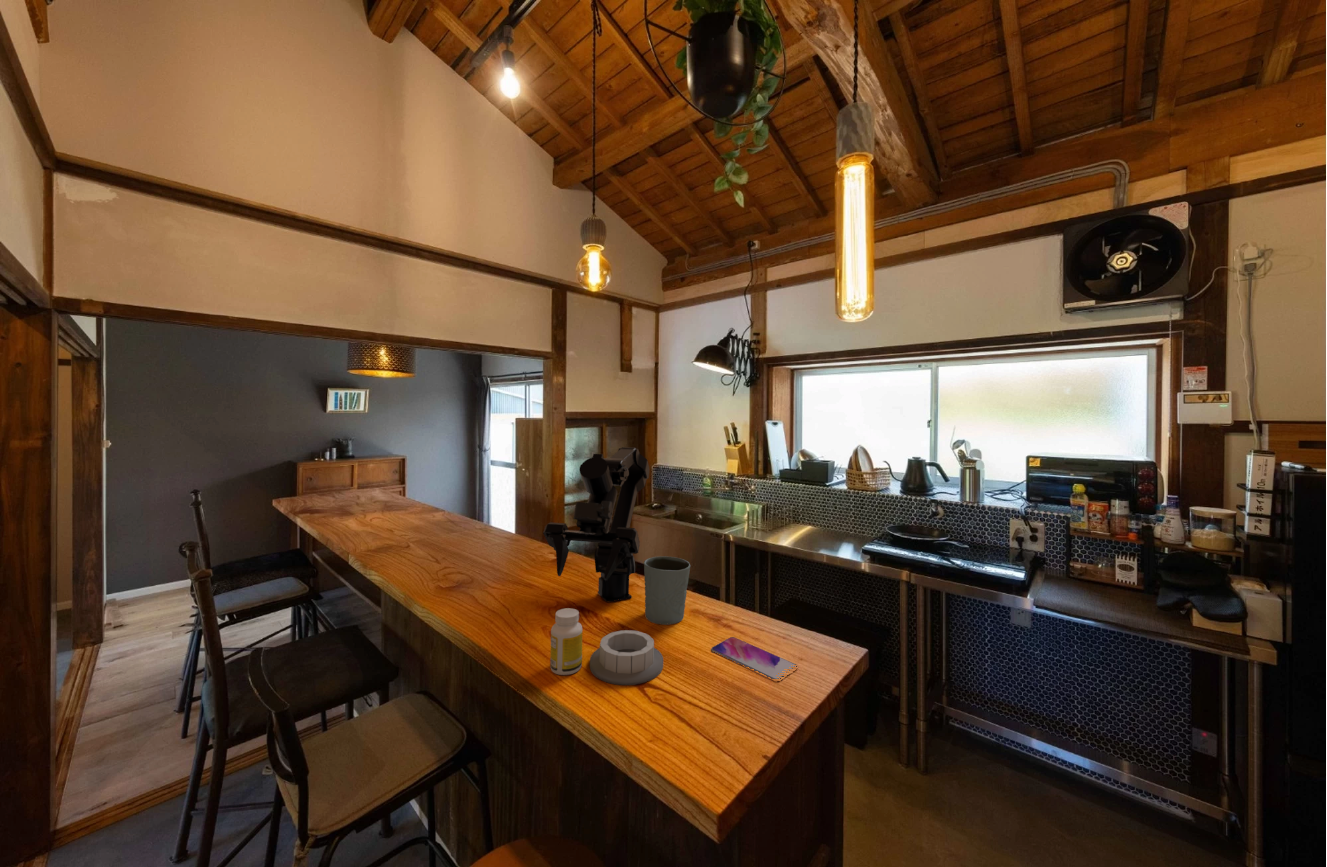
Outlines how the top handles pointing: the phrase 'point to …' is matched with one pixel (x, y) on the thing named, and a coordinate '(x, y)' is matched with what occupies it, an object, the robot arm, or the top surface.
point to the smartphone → (753, 657)
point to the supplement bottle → (566, 642)
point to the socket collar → (626, 658)
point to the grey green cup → (665, 589)
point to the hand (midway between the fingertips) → (581, 577)
